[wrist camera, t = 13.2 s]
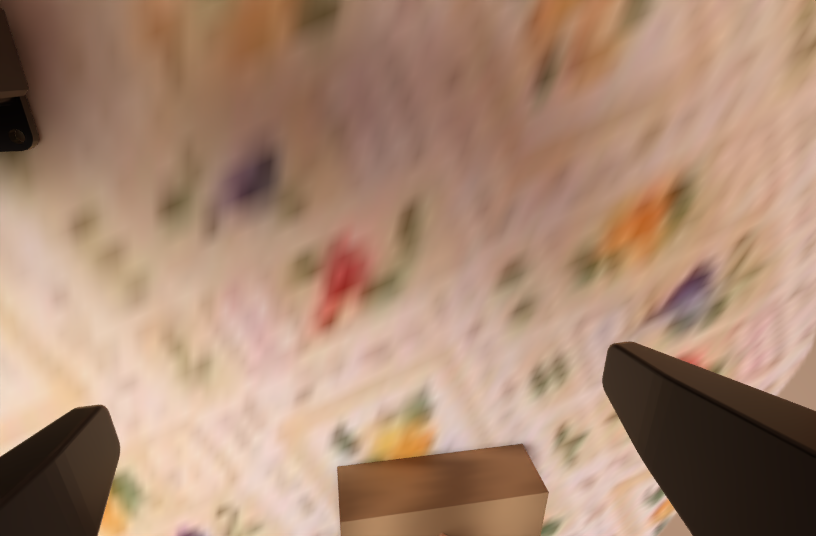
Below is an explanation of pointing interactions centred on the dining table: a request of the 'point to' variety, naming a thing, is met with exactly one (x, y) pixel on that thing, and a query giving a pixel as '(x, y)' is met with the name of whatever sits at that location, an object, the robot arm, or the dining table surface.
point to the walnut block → (444, 495)
